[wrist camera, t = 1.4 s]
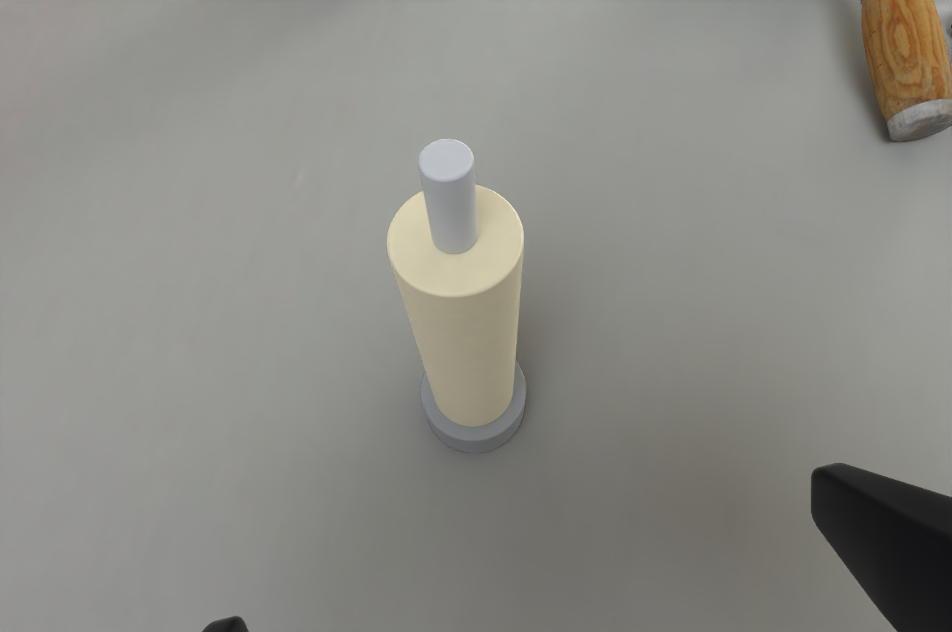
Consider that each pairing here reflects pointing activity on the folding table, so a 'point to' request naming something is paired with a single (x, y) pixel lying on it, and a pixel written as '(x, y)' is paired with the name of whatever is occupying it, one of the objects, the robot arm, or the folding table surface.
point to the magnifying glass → (908, 66)
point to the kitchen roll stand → (462, 298)
